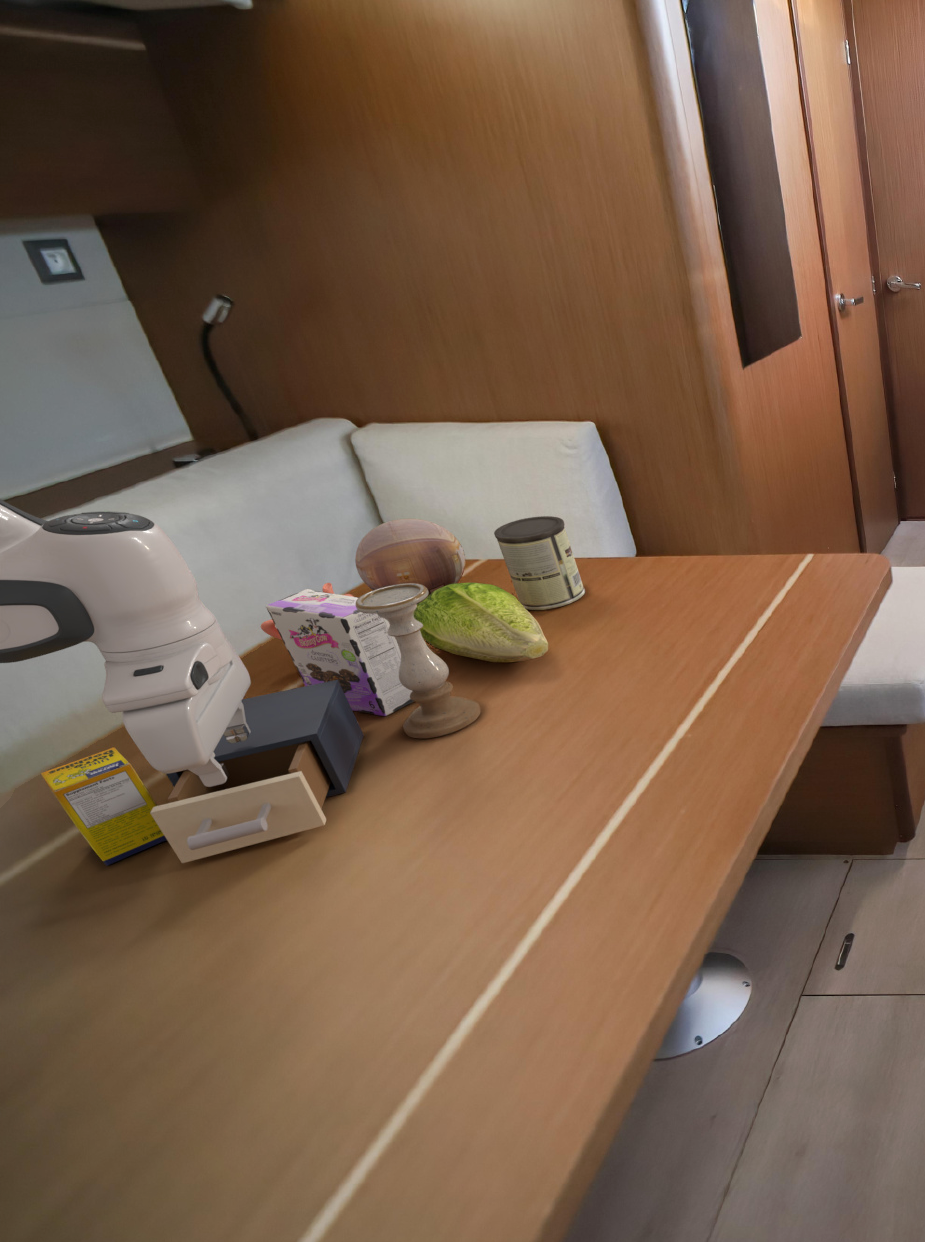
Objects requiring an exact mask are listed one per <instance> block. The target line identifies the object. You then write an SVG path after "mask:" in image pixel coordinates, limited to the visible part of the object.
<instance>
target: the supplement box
mask: <svg viewBox="0 0 925 1242" xmlns="http://www.w3.org/2000/svg"><path fill="white" fill-rule="evenodd" d="M40 774H41V777H42V778H43V780H44V781H45V783H46V785H47V786H48V787H49V789H50V791H51V792H52V794H53V795H54V796H55V798H56V799H57V801H58V802H59V804H60V805H61V807H62V809H63V810H64V811H65V813H66V814H67V816H68V817H69V818H70V820H71V821H72V823H73V824H74V826H75V827H76V828H77V830H78V831H79V833H80V834H81V835H82V837H83V838H84V840H85V841H86V842H87V844H88V845H89V846H90V847H91V849H92V850H93V851H94V853H95V854H96V855H97V856H98V857H99V859H100V860H101V861H102V862H103V864H104V865H105V866H106V867H107V866H110V865H113V864H114V863H117V862H119V861H121V860H124V859H126V858H128V857H130V856H133V855H136V854H138V853H140V852H142V851H145V850H146V849H149V848H151V847H154V846H156V845H158V844H161V843H163V842H166V841H168V840H167V839H166V837H165V836H164V834H163V833H162V831H161V829H160V828H159V826H158V825H157V823H156V821H155V820H154V818H153V817H152V815H151V814H150V812H151V810H152V809H153V807H155V806H158V804H157V803H156V801H155V800H154V798H153V796H152V795H151V793H150V792H149V790H148V789H147V787H146V786H145V784H144V782H143V781H142V780H141V777H140V776H139V774H138V773H137V772H136V770H135V768H134V767H133V766H132V764H131V762H129V761H128V759H126V758H125V757H124V756H123V755H122V754H121V753H120V752H119V751H118V749H116V747H113V746H112V747H111V748H108V749H106V750H103V751H99V752H97V753H94V754H91V755H88V756H86V757H82V758H81V759H78V760H74V761H72V762H68V763H66V764H63V765H60V766H57V767H55V768H52V769H48V770H46V771H43V772H41V773H40Z"/></svg>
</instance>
